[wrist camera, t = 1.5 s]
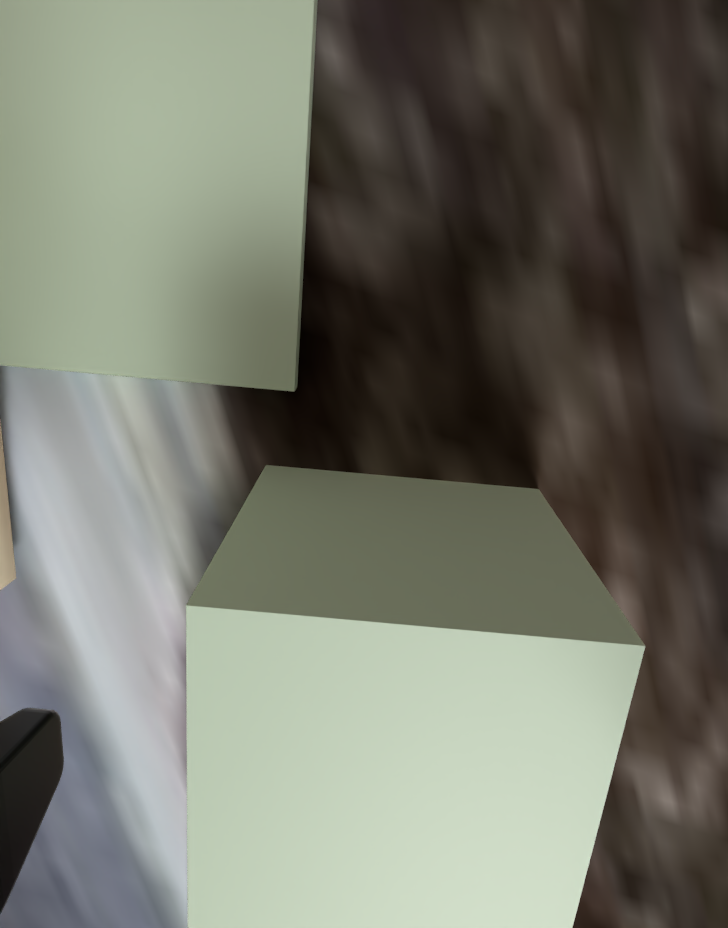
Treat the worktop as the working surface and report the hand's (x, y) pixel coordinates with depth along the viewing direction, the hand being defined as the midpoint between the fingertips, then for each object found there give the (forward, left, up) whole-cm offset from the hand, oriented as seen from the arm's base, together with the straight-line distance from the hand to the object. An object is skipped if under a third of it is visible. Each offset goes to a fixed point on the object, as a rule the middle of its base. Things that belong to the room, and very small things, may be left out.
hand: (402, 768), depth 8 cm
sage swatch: (+5, -7, -4) cm, 10 cm away
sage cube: (0, 0, -4) cm, 4 cm away
